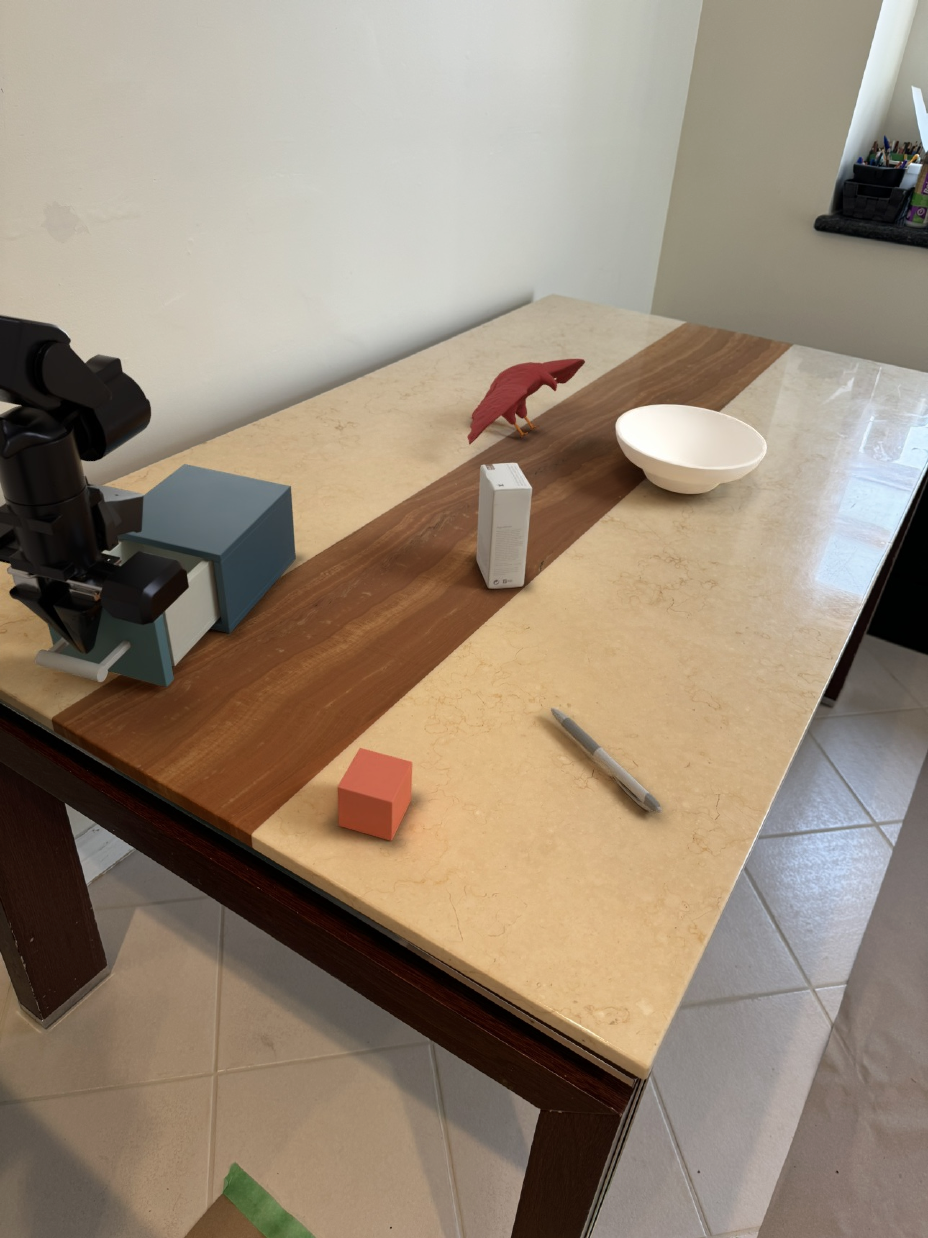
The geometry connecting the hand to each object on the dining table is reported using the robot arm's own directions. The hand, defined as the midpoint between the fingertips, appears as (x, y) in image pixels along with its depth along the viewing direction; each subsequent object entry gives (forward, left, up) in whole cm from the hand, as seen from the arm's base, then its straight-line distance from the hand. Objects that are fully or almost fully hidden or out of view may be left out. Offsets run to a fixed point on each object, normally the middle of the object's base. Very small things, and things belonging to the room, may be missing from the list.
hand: (86, 650), depth 74 cm
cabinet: (0, +19, -5) cm, 20 cm away
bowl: (+45, +63, -5) cm, 78 cm away
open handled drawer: (0, +6, -4) cm, 8 cm away
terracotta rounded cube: (+28, -4, -5) cm, 29 cm away
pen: (+44, +7, -5) cm, 45 cm away
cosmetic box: (+28, +32, -5) cm, 43 cm away
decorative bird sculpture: (+20, +69, -5) cm, 72 cm away
